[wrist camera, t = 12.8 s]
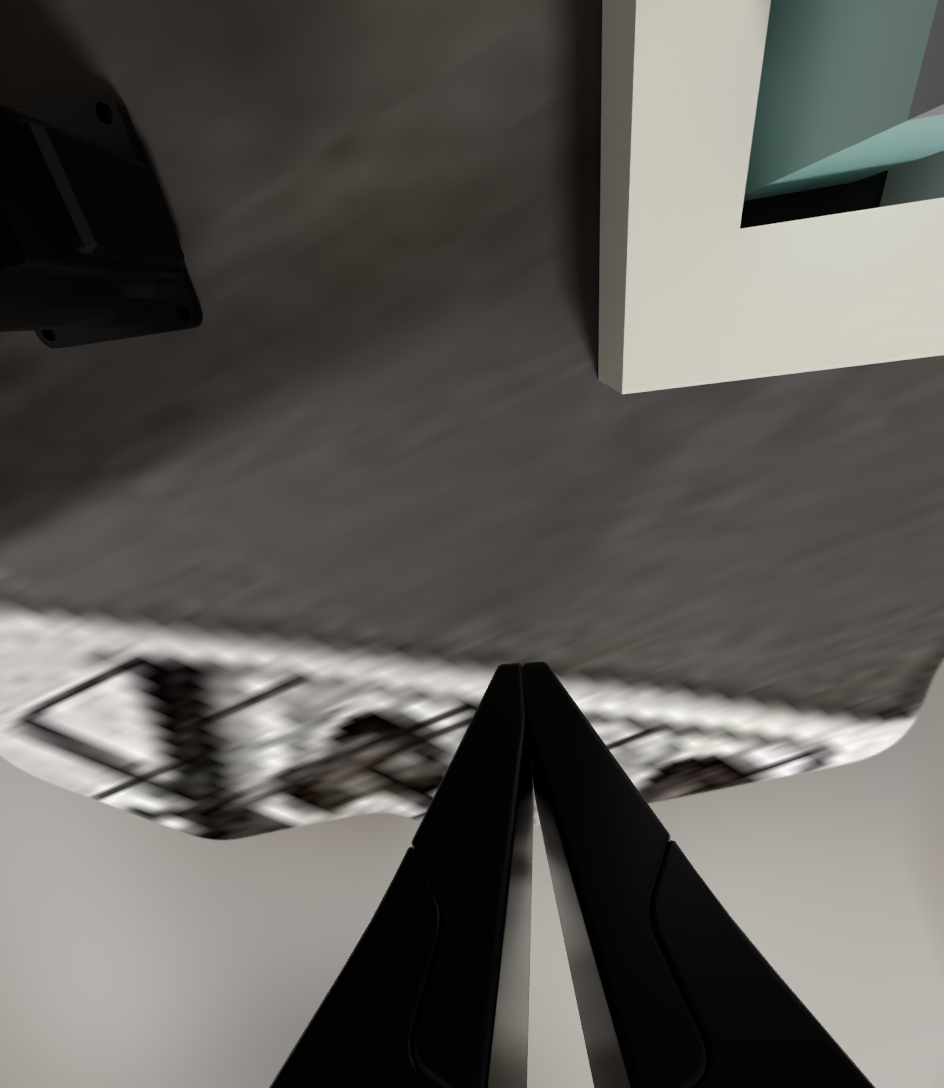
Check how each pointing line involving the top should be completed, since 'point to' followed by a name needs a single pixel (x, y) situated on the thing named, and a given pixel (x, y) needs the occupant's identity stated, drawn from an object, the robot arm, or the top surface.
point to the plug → (846, 92)
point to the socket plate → (739, 222)
